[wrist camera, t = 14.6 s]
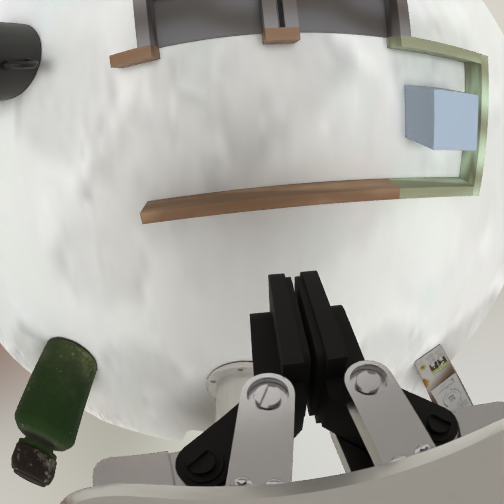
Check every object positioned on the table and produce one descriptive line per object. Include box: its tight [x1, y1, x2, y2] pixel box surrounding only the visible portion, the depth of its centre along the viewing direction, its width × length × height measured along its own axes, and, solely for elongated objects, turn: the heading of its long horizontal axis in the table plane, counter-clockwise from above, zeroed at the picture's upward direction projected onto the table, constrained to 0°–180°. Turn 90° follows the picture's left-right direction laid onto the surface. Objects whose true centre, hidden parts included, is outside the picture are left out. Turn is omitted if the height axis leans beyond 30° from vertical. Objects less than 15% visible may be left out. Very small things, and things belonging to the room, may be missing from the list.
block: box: [404, 85, 478, 151], centre depth 26 cm, size 6×6×6 cm
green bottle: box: [12, 338, 97, 487], centre depth 36 cm, size 10×10×25 cm
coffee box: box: [415, 345, 473, 411], centre depth 45 cm, size 9×6×16 cm
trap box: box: [109, 0, 489, 224], centre depth 26 cm, size 24×39×3 cm, turn 95°
